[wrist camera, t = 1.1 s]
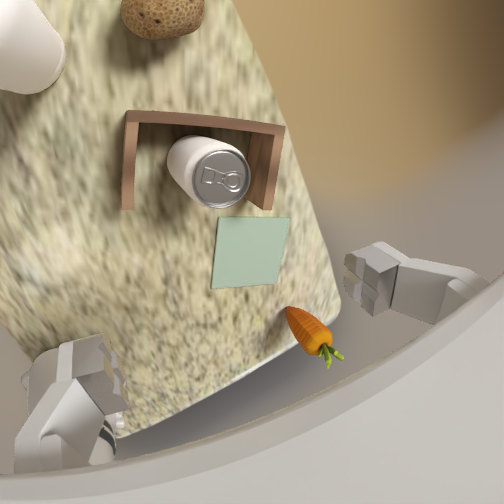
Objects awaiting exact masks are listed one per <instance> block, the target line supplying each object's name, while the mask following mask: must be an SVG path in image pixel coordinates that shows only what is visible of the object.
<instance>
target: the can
mask: <svg viewBox="0 0 504 504" xmlns="http://www.w3.org/2000/svg"><path fill="white" fill-rule="evenodd" d="M167 167H168V170H169V173H170V174H171V176H172V177H173V178H174V180H175V181H176V182H177V183H178V184H179V185H180V187H181V188H182V189H183V190H184V191H185V192H186V193H187V194H188V195H189V196H190V197H191V198H192V199H193V200H194V201H195V202H197V203H198V204H200V205H202V206H205V207H210V208H226V207H229V206H232V205H234V204H235V203H237V202H238V201H239V200H240V199H241V198H242V197H243V196H244V195H245V193H246V192H247V190H248V187H249V184H250V179H251V173H250V168H249V165H248V163H247V161H246V160H245V158H244V156H243V155H242V154H241V152H240V151H239V150H237V149H236V148H235V147H233V146H231V145H229V144H227V143H224V142H221V141H218V140H214V139H211V138H207V137H204V136H199V135H188V136H185V137H182V138H180V139H179V140H178V141H176V142H175V143H174V144H173V146H172V147H171V149H170V150H169V153H168V156H167Z"/></svg>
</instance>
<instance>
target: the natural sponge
mask: <svg viewBox="0 0 504 504" xmlns="http://www.w3.org/2000/svg"><path fill="white" fill-rule="evenodd" d="M203 15H204V0H122V3H121V17H122V20H123V22H124V24H125V25H126V27H127V28H128V29H129V30H130V31H131V32H132V33H134V34H135V35H137V36H139V37H141V38H144V39H150V40H160V39H167V38H172V37H177V36H182V35H187V34H190V33H192V32H194V31H196V30H197V29H198V28H199V27H200V25H201V23H202V20H203Z"/></svg>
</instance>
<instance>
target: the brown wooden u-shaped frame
mask: <svg viewBox="0 0 504 504" xmlns="http://www.w3.org/2000/svg"><path fill="white" fill-rule="evenodd" d="M139 122H144V123H166V124H181V125H195V126H206V127H216V128H226V129H235V130H243V131H251V137H250V144H249V151H248V158H247V163H248V165H249V168H250V173H251V179H250V184H249V187H248V190H247V192H246V193H245V195H244V196H243V197H244V198H246V199H247V200H249V201H250V202H252V203H253V204H255V205H256V206H257V207H259V208H260V209H262V210H272V205H273V199H274V193H275V187H276V181H277V175H278V169H279V163H280V157H281V151H282V145H283V139H284V133H285V127H286V126H281V125H275V124H269V123H263V122H256V121H249V120H242V119H235V118H227V117H218V116H209V115H199V114H188V113H176V112H160V111H139V110H128V111H126V120H125V130H124V141H123V154H122V171H121V206H122V210H124V209H133V195H134V176H135V161H136V148H137V137H138V127H139Z"/></svg>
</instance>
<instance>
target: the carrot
mask: <svg viewBox="0 0 504 504" xmlns="http://www.w3.org/2000/svg"><path fill="white" fill-rule="evenodd" d="M286 317H287V320H288V324H289V326H290V328H291V330H292V332H293V334H294V336H295V338H296V339H297V341H298V342H299V344H300V345H301V346H302V347H303V349H304V350H305V351H306V353H308V354H309V355H318V357H319V358H320V357H321V356H322V355H323V354H324V356H325V362H326V363H327V368H329V367H330V363H331V362H332V361H331V355H330V353H331V354H332V355H334V356H335V357H336V358H338V359H339V360H343V359H344V356H342V355H340V354H339V353H338V351H337V350H335V349H334V348H332V347H330V345H331V344H332V334H331V332H330V330H329V329H328V328H327V327H326V326H325V325H323V324H322V323H321V322H320V321H319V320H318V319H317V318H316V317H314V316H313V315H311V314H309V313H308V312H306V311H304V310H302V309H299V308H295V307H291V306H288V307H287V308H286Z"/></svg>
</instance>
